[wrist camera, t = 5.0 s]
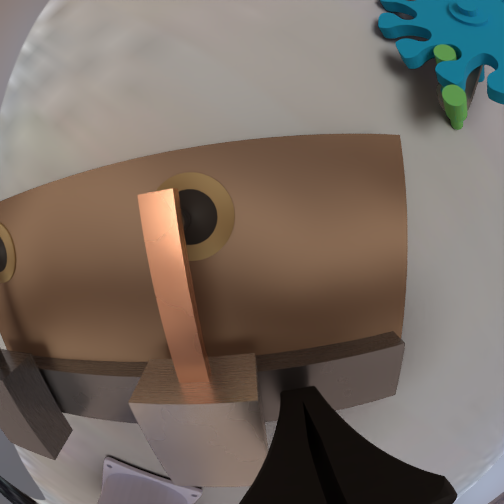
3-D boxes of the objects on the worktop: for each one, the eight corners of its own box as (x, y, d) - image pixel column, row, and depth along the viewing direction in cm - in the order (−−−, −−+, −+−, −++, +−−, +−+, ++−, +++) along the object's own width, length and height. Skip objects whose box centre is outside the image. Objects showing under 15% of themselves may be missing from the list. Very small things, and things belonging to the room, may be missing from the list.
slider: (266, 427, 12) (271, 484, 8) (185, 431, 12) (174, 485, 8) (233, 182, 9) (227, 178, 6) (123, 200, 9) (70, 207, 6)
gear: (399, -49, 7) (557, -2, 1) (427, 11, 11) (551, 62, 5) (332, 60, 10) (553, 157, 4) (375, 117, 15) (522, 200, 9)
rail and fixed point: (383, 396, 12) (414, 448, 8) (39, 404, 12) (10, 442, 8) (393, 171, 10) (460, 167, 6) (-22, 239, 10) (-72, 255, 6)
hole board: (382, 370, 14) (394, 388, 12) (40, 385, 14) (29, 398, 12) (383, 139, 11) (402, 133, 9) (-13, 211, 11) (-32, 215, 9)
